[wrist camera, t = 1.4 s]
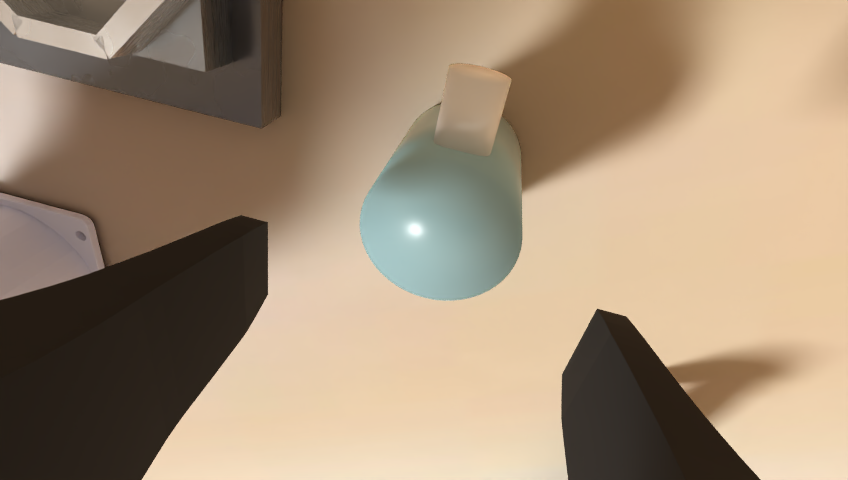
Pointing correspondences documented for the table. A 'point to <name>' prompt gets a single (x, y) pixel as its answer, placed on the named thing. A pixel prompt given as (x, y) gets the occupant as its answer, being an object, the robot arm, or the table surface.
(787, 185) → the table surface
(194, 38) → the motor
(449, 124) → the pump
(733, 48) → the table surface
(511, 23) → the table surface
